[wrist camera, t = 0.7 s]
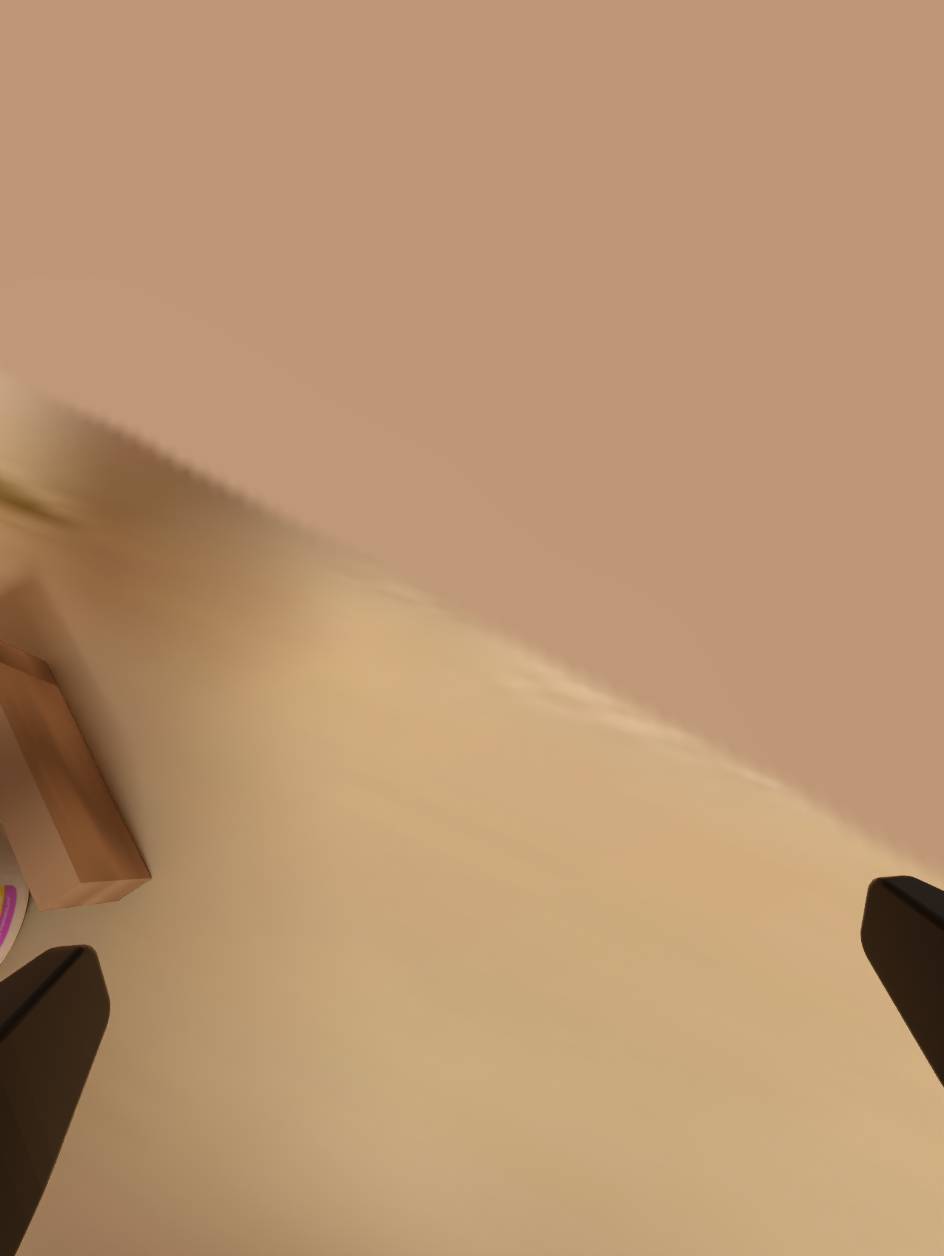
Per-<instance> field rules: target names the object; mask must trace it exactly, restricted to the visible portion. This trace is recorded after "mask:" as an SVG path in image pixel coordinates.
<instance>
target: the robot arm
mask: <svg viewBox="0 0 944 1256" xmlns="http://www.w3.org/2000/svg"><path fill="white" fill-rule="evenodd" d="M861 942H862V946H863V949H864V952H865V954H866V956H867V958H868V960H869V962H870V963H871V965H872V967H873V969H874V970H875V972H876V974H877V975H878V977H879V979H880V980H881V982H882V984H883V986H884V987H885V989H886V991H887V992H888V994H889V996H890V997H891V999H892V1001H893V1003H894V1004H895V1006H896V1008H897V1009H898V1011H899V1013H900V1015H901V1016H902V1018H903V1020H904V1021H905V1023H906V1025H907V1026H908V1028H909V1030H910V1032H911V1033H912V1035H913V1037H914V1038H915V1040H916V1042H917V1043H918V1045H919V1047H920V1049H921V1050H922V1052H923V1054H924V1055H925V1057H926V1059H927V1060H928V1062H929V1064H930V1066H931V1067H932V1069H933V1071H934V1072H935V1074H936V1076H937V1077H938V1079H939V1081H940V1082H941V1084H942V1085H943V1087H944V891H943V890H941V889H938V888H936V887H934V886H932V885H930V884H928V883H925V882H923V881H921V880H919V879H917V878H914V877H911V876H891V877H879V878H876V879H874V880H873V881H872V882H871V883H870V884H869V887H868V891H867V897H866V903H865V908H864V914H863V920H862V926H861ZM109 1015H110V999H109V994H108V991H107V987H106V984H105V980H104V977H103V973H102V970H101V966H100V963H99V959H98V956H97V953H96V951H95V950H94V949H93V948H92V947H91V946H89V945H72V946H60V947H55V948H51V949H49V950H47V951H45V952H43V953H42V954H40V955H39V956H38V957H36V958H35V959H33V960H32V961H30V962H29V963H27V964H26V965H25V966H23V967H22V968H20V969H19V970H17V971H16V972H15V973H13V974H12V975H10V976H9V977H7V978H6V979H4V980H3V981H2V982H0V1256H15V1254H16V1252H17V1250H18V1248H19V1246H20V1243H21V1241H22V1239H23V1237H24V1235H25V1233H26V1231H27V1228H28V1226H29V1224H30V1222H31V1220H32V1217H33V1215H34V1213H35V1211H36V1209H37V1206H38V1204H39V1202H40V1200H41V1197H42V1195H43V1193H44V1190H45V1188H46V1185H47V1183H48V1180H49V1178H50V1175H51V1173H52V1170H53V1168H54V1165H55V1163H56V1160H57V1158H58V1155H59V1152H60V1150H61V1147H62V1144H63V1142H64V1139H65V1136H66V1134H67V1131H68V1128H69V1126H70V1123H71V1120H72V1118H73V1115H74V1112H75V1110H76V1107H77V1104H78V1102H79V1099H80V1096H81V1094H82V1091H83V1088H84V1086H85V1083H86V1080H87V1078H88V1075H89V1072H90V1070H91V1067H92V1064H93V1062H94V1059H95V1056H96V1054H97V1051H98V1048H99V1046H100V1043H101V1040H102V1038H103V1035H104V1032H105V1029H106V1027H107V1023H108V1019H109Z"/></svg>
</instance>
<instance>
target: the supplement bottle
mask: <svg viewBox="0 0 944 1256" xmlns="http://www.w3.org/2000/svg"><path fill="white" fill-rule="evenodd" d="M28 896H29V888H28V886H27V883H26V881H25V879H24V876H23V874H22V871H21V869H20V867H19V864H18V862H17V859H16V857H15V855H14V852H13V850H12V848H11V845H10V843H9V840H8V838H7V836H6V833H5V831H4V828H3V826H2V824H1V821H0V964H1V963H2V961H3V960H4V958H5V957H6V955H7V954H8V952H9V950H10V949H11V947H12V945H13V943H14V941H15V939H16V937H17V935H18V932H19V930H20V928H21V925H22V922H23V919H24V916H25V912H26V908H27V903H28Z"/></svg>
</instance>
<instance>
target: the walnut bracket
mask: <svg viewBox="0 0 944 1256" xmlns="http://www.w3.org/2000/svg"><path fill="white" fill-rule="evenodd" d="M0 821H1V824H2V826H3V828H4V831H5V833H6V836H7V838H8V840H9V843H10V845H11V848H12V850H13V852H14V855H15V857H16V859H17V862H18V864H19V867H20V869H21V871H22V874H23V876H24V879H25V881H26V883H27V886H28V888H29V891H30V893H31V895H32V898H33V900H34V902H35V905H36V907H37V910H38V911H43V910H51V909H59V908H66V907H74V906H82V905H90V904H97V903H105V902H113V901H118V900H120V899H121V898H123V897H124V896H126V895H127V894H129V893H130V892H132V891H133V890H135V889H136V888H138V887H139V886H140V885H142V884H143V883H145V882H146V881H148V880H149V879H151V876H150V874H149V872H148V870H147V868H146V866H145V864H144V862H143V860H142V858H141V856H140V853H139V851H138V849H137V847H136V845H135V843H134V841H133V839H132V837H131V835H130V833H129V831H128V829H127V827H126V825H125V823H124V821H123V819H122V817H121V815H120V812H119V810H118V808H117V806H116V804H115V802H114V800H113V798H112V796H111V794H110V792H109V790H108V788H107V786H106V784H105V782H104V780H103V778H102V776H101V774H100V771H99V769H98V767H97V765H96V763H95V761H94V759H93V757H92V755H91V753H90V751H89V749H88V747H87V745H86V743H85V741H84V739H83V737H82V735H81V733H80V730H79V728H78V726H77V724H76V722H75V720H74V718H73V716H72V714H71V712H70V710H69V708H68V706H67V704H66V702H65V700H64V698H63V696H62V694H61V692H60V689H59V687H58V685H57V683H56V681H55V679H54V677H53V675H52V673H51V671H50V669H49V667H48V665H47V663H46V662H45V661H43V660H40V659H38V658H36V657H34V656H32V655H30V654H28V653H26V652H23V651H21V650H19V649H17V648H15V647H13V646H11V645H9V644H6V643H4V642H2V641H0Z"/></svg>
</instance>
